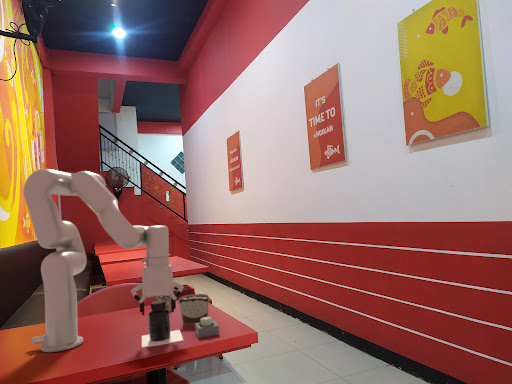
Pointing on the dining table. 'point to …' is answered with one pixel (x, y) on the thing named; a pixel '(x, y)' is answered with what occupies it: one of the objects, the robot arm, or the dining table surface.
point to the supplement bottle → (159, 321)
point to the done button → (206, 321)
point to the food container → (194, 308)
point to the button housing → (207, 330)
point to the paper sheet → (174, 337)
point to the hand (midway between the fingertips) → (158, 312)
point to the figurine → (167, 301)
